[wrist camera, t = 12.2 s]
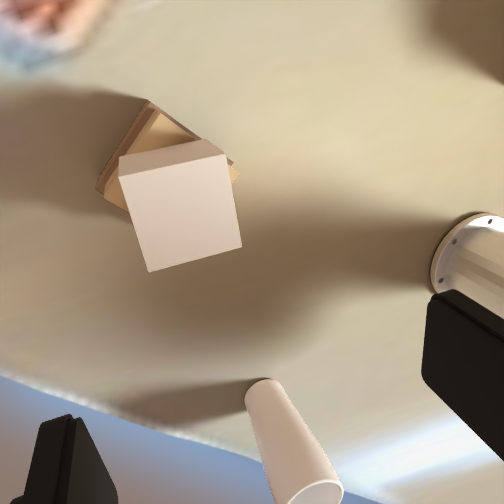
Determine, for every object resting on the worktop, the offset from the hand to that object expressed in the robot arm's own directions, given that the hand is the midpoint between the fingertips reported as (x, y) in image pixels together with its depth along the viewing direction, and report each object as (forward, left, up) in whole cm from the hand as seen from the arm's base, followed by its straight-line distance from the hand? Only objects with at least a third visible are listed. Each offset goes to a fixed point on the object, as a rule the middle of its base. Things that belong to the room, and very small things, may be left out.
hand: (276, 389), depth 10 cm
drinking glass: (-26, +18, -28) cm, 42 cm away
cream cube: (0, 0, -20) cm, 20 cm away
